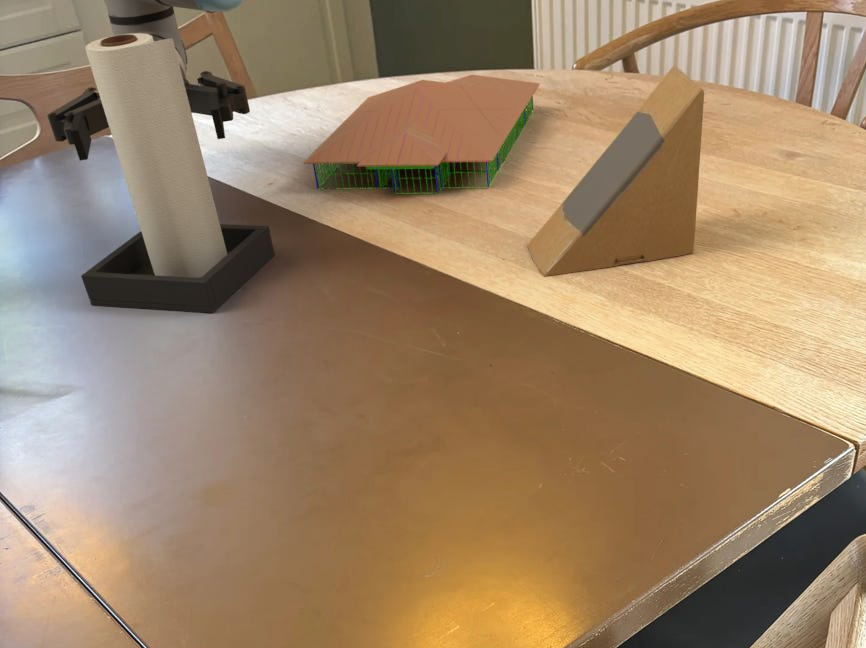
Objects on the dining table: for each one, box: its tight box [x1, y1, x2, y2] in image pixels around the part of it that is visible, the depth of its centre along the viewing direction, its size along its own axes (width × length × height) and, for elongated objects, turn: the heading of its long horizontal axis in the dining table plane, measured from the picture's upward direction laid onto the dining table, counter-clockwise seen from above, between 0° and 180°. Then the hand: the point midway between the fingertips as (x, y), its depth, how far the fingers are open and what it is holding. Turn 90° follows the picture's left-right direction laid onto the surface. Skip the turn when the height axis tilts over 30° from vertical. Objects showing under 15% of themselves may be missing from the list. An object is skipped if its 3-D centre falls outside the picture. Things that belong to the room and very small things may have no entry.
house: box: [303, 74, 540, 195], centre depth 127 cm, size 23×33×8 cm
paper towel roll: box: [84, 33, 227, 278], centre depth 98 cm, size 7×6×21 cm
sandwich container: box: [526, 64, 705, 277], centre depth 97 cm, size 9×15×15 cm, turn 100°
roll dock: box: [80, 223, 276, 314], centre depth 104 cm, size 14×14×3 cm
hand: (148, 134), depth 100 cm, fingers open, 13 cm apart
